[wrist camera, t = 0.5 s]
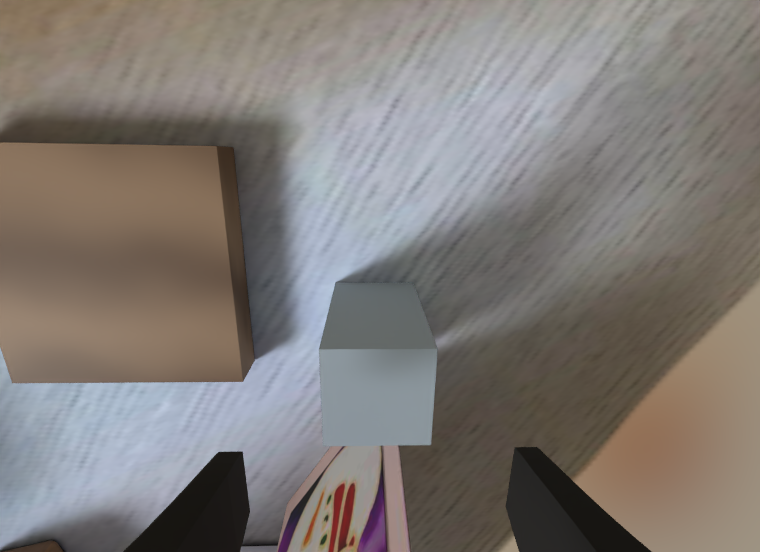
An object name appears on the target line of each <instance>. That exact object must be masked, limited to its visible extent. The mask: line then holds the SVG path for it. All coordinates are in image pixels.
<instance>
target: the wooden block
mask: <svg viewBox="0 0 760 552" xmlns="http://www.w3.org/2000/svg"><path fill="white" fill-rule="evenodd" d="M3 552H63V550H62V549H61V548H60V546H59V545H58V543H57V542H55V541H51V540H50V541H45V542H41V543H37V544H33V545H28V546H24V547H20V548H15V549H11V550H7V551H3Z"/></svg>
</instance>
